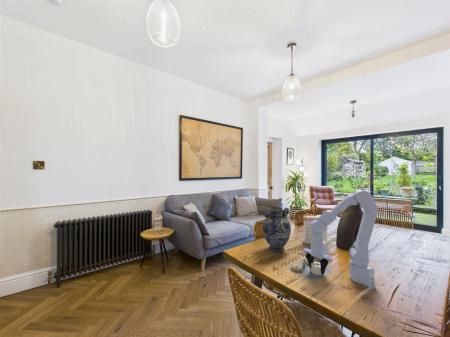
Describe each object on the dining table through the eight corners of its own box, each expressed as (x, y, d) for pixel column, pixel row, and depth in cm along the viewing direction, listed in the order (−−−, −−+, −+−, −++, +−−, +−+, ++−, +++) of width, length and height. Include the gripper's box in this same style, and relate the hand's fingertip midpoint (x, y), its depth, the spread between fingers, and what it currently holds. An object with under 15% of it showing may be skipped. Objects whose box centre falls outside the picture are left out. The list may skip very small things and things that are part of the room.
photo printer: (329, 261, 119) (329, 240, 120) (323, 263, 118) (323, 241, 118) (314, 255, 129) (314, 235, 129) (309, 256, 127) (309, 236, 127)
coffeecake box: (324, 241, 153) (324, 215, 153) (327, 245, 146) (327, 217, 146) (303, 240, 156) (303, 214, 156) (305, 243, 149) (305, 216, 149)
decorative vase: (272, 257, 125) (271, 211, 126) (255, 247, 142) (255, 206, 143) (298, 251, 134) (298, 208, 135) (280, 242, 151) (280, 204, 152)
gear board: (334, 273, 106) (334, 261, 106) (314, 284, 96) (314, 271, 96) (306, 262, 119) (306, 251, 119) (286, 270, 109) (286, 259, 109)
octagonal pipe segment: (325, 272, 103) (325, 264, 103) (319, 276, 100) (319, 267, 100) (315, 268, 108) (315, 261, 108) (309, 271, 105) (309, 263, 105)
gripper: (299, 241, 108) (299, 267, 108) (326, 250, 96) (327, 279, 96) (307, 239, 112) (307, 264, 112) (334, 247, 100) (334, 275, 100)
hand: (317, 271), depth 104 cm, fingers closed on octagonal pipe segment, 5 cm apart
